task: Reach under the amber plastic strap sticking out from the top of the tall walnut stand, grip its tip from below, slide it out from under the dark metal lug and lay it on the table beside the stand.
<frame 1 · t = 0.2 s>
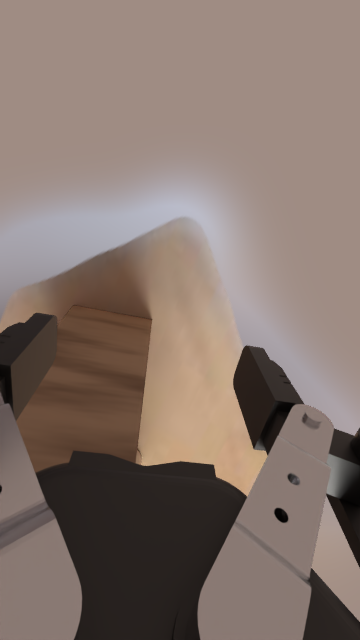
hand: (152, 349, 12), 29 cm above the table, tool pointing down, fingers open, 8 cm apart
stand: (109, 340, 45), on the table
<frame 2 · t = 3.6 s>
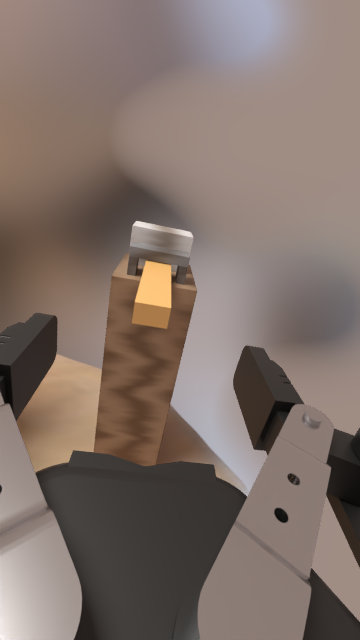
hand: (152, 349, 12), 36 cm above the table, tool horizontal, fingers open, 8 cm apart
strap: (153, 293, 30), point 32 cm above the table, touching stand
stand: (128, 438, 51), on the table
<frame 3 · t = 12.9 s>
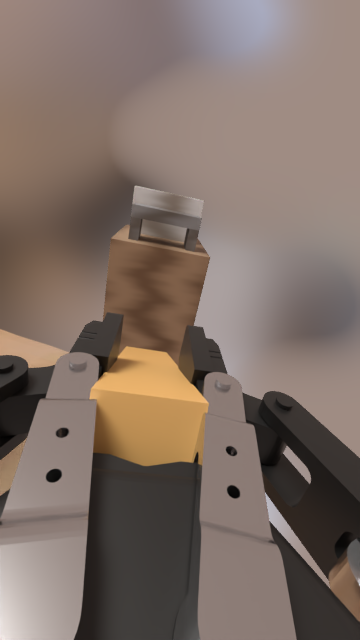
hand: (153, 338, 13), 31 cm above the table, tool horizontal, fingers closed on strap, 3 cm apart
strap: (141, 401, 14), point 28 cm above the table, tilted 26°, touching gripper
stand: (128, 434, 46), on the table
when the fingers open (10 cm above the table, at t = 16.8 s): strap drops 7 cm, on the table.
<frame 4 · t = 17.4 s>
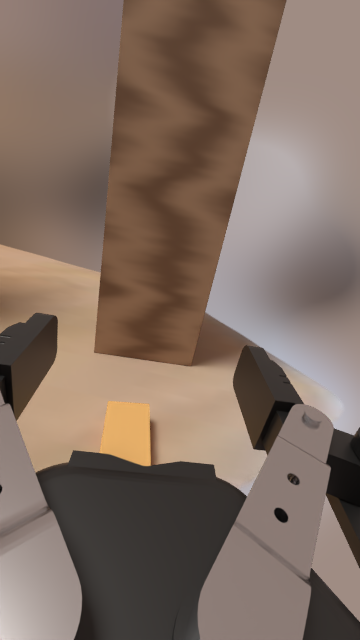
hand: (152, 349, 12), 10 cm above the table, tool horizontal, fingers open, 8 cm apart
strap: (118, 521, 15), on the table
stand: (147, 331, 34), on the table
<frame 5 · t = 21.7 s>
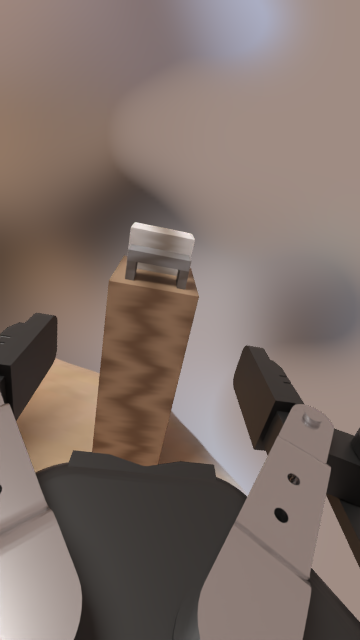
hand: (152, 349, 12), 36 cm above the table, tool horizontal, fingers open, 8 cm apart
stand: (127, 446, 50), on the table
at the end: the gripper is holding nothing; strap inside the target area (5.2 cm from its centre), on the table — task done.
